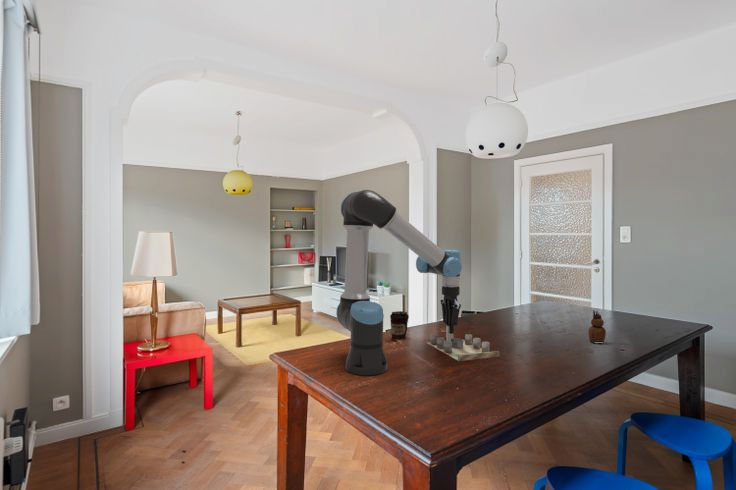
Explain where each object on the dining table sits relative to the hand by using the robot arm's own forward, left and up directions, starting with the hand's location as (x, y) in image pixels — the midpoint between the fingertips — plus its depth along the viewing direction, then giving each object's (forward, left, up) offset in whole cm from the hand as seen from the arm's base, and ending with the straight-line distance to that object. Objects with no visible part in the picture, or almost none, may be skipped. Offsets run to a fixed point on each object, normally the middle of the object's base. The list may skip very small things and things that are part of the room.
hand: (449, 340), depth 173 cm
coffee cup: (-17, +15, -3) cm, 23 cm away
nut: (0, -6, -1) cm, 6 cm away
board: (0, -9, -3) cm, 9 cm away
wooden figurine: (+67, -15, -3) cm, 69 cm away
